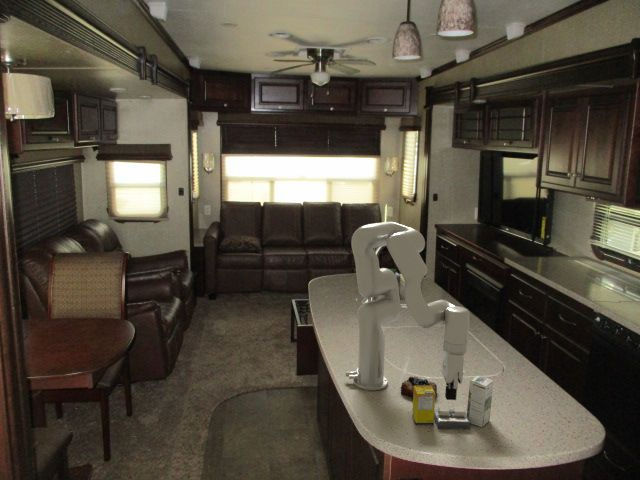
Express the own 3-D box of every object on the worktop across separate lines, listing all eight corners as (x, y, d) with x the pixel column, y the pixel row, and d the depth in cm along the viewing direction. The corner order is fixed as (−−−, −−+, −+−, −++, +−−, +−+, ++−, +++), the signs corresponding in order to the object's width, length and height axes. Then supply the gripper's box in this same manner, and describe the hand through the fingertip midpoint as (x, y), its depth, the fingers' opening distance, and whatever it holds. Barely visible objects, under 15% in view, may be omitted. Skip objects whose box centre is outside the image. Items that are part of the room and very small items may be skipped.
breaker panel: (437, 428, 175) (438, 420, 174) (433, 415, 182) (433, 408, 182) (469, 429, 174) (470, 421, 174) (463, 416, 182) (464, 409, 182)
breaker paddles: (438, 415, 178) (439, 411, 177) (437, 410, 179) (438, 406, 178) (464, 415, 178) (465, 411, 177) (463, 411, 179) (464, 407, 178)
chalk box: (396, 291, 323) (398, 266, 320) (400, 295, 314) (401, 270, 311) (381, 291, 322) (382, 266, 319) (384, 295, 313) (385, 270, 310)
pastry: (411, 383, 206) (412, 369, 205) (441, 393, 199) (442, 378, 197) (396, 394, 197) (397, 379, 196) (427, 405, 190) (428, 389, 189)
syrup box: (473, 415, 183) (476, 374, 180) (490, 421, 180) (493, 379, 177) (465, 421, 179) (468, 380, 176) (483, 428, 175) (486, 386, 172)
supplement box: (429, 415, 183) (431, 385, 180) (433, 425, 177) (435, 393, 175) (411, 415, 182) (413, 385, 180) (415, 425, 177) (417, 393, 174)
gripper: (438, 336, 182) (434, 387, 186) (448, 354, 168) (443, 410, 171) (461, 336, 182) (456, 388, 186) (472, 355, 167) (467, 410, 171)
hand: (450, 398), depth 179 cm, fingers closed
